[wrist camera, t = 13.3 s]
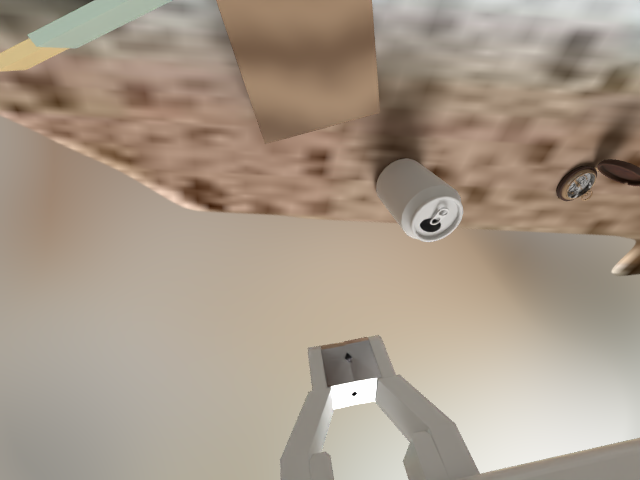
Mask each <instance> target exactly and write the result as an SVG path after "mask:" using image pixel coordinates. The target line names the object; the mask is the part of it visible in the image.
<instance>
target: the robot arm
mask: <svg viewBox="0 0 640 480" xmlns="http://www.w3.org/2000/svg"><path fill="white" fill-rule="evenodd" d="M308 358H309V366H310V374H311V383H312V391H310V392H308V395H307V397H306V399H305V402H304V404H303V407H302V409H301V411H300V414H299V416H298V419H297V421H296V423H295V426H294V428H293V431H292V433H291V436H290V438H289V440H288V442H287V445H286V447H285V450H284V452H283V455H282V457H281V459H280V465H281V480H334V476H333V470H332V463H331V457H330V455H329V454H328V453H326V452H321V451H322V448H323V445H324V441H325V438H326V435H327V431H328V428H329V425H330V421H331V418H332V415H333V411H334V409H337V408H341V407H345V406H349V405H354V404H360V403H365V402H372V401H375V403H376V404H377V405H378V406H379V407H380V408H381V409H382V411H383V412H384V413H385V414H386V415H387V416H388V418H389V419H390V420H391V421H392V422H393V423H394V425H395V426H396V427H397V428H398V429H399V430H400V431H401V432H402V434H403V435H404V436H405V437H406V438H407V440H408V441H409V442H410V444H409V447H408V449H407V452H406V454H405V457H404V460H403V463H404V466H405V469H406V473H407V476H408V479H409V480H640V438H637V439H632V440H627V441H623V442H618V443H614V444H610V445H605V446H601V447H596V448H592V449H588V450H583V451H579V452H574V453H570V454H565V455H561V456H557V457H552V458H548V459H543V460H539V461H534V462H530V463H526V464H521V465H517V466H512V467H508V468H503V469H499V470H495V471H490V472H486V473H482V474H480V473H479V471H478V469H477V467H476V465H475V463H474V461H473V459H472V457H471V455H470V453H469V451H468V449H467V447H466V445H465V443H464V441H463V438H462V436H461V434H460V432H459V430H458V428H457V426H456V424H455V423H454V422H452V420H450V419H449V418H448V417H447V416H446V415H445V414H444V413H443V412H441V411H440V410H439V409H438V408H437V407H436V406H435V405H434V404H432V403H431V402H430V401H429V400H428V399H427V398H426V397H424V396H423V395H422V394H421V393H420V392H419V391H418V390H416V389H415V388H414V387H413V386H412V385H411V384H410V383H409V382H407V381H406V380H405V379H404V378H403V377H402V376H401V375H396V374H395V372H394V369H393V366H392V364H391V361H390V359H389V356H388V353H387V351H386V348H385V346H384V343H383V341H382V338H381V337H380V336H379V335H376V336H371V337H364V338H359V339H354V340H350V341H344V342H339V343H334V344H328V345H322V346H316V347H310V348H308Z"/></svg>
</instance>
